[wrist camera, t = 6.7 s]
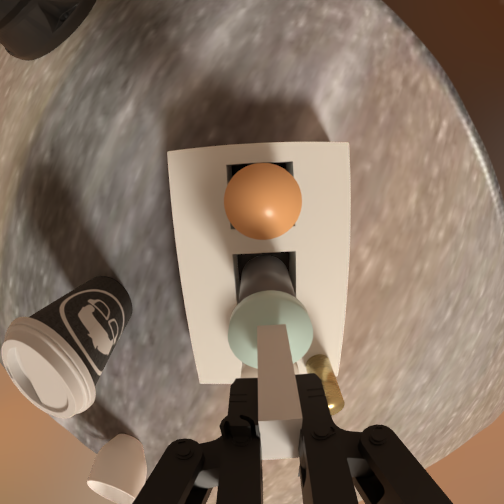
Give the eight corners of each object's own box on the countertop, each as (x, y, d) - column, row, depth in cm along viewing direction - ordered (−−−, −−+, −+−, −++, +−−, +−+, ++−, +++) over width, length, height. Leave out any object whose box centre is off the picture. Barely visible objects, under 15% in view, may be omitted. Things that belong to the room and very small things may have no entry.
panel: (182, 153, 25) (167, 151, 21) (332, 146, 25) (348, 142, 20) (206, 355, 32) (200, 383, 27) (327, 348, 31) (337, 376, 26)
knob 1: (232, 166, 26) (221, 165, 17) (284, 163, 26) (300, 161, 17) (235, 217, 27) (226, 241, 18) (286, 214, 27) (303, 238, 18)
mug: (122, 421, 36) (101, 479, 25) (164, 449, 38) (151, 505, 27) (92, 436, 38) (71, 483, 27) (128, 460, 40) (114, 507, 29)
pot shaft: (306, 355, 26) (316, 399, 20) (330, 352, 26) (346, 395, 20) (305, 374, 26) (314, 417, 21) (328, 371, 26) (342, 413, 20)
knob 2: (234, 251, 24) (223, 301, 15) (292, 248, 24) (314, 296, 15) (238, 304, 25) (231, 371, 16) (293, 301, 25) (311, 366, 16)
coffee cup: (80, 250, 28) (-12, 307, 14) (153, 283, 29) (85, 372, 15) (72, 317, 31) (4, 387, 16) (136, 349, 32) (86, 440, 17)
